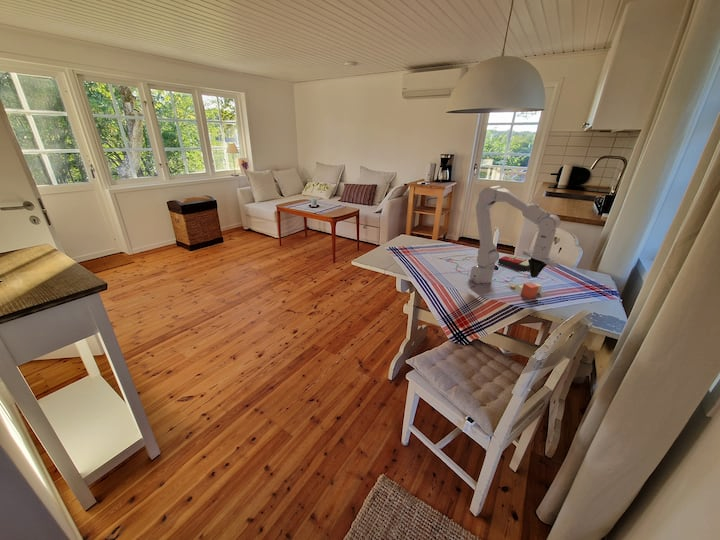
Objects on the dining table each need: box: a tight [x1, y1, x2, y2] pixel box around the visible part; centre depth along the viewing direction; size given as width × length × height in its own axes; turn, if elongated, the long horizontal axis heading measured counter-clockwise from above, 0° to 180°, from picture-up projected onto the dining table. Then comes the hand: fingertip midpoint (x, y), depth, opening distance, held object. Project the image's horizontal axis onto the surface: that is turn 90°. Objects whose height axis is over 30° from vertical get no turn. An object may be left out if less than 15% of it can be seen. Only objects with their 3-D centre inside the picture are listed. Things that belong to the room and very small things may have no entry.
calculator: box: [497, 254, 530, 273], centre depth 157 cm, size 11×4×15 cm
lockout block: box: [521, 282, 539, 299], centre depth 123 cm, size 4×4×5 cm
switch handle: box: [534, 283, 543, 293], centre depth 126 cm, size 4×2×3 cm, turn 108°
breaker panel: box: [505, 283, 550, 300], centre depth 128 cm, size 12×12×2 cm
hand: (533, 276), depth 120 cm, fingers closed
